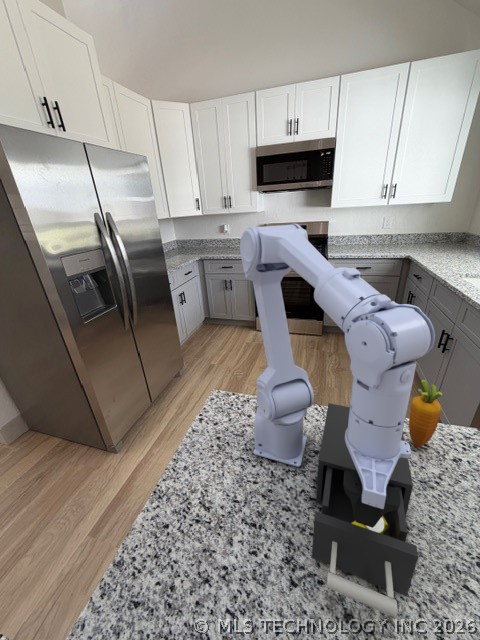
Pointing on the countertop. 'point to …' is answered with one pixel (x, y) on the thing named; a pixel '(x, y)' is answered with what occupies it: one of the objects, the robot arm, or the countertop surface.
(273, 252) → the robot arm
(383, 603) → the dark gray drawer
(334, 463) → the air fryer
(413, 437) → the carrot
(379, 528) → the watch
